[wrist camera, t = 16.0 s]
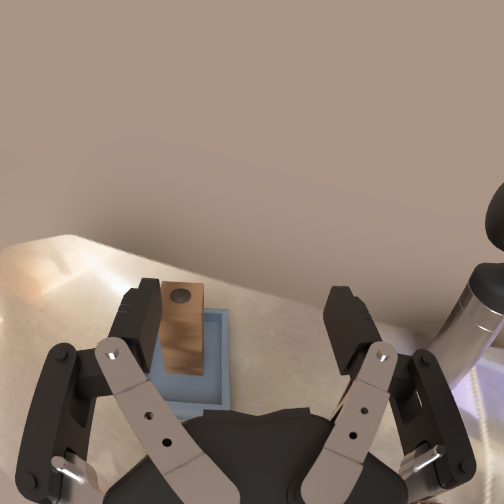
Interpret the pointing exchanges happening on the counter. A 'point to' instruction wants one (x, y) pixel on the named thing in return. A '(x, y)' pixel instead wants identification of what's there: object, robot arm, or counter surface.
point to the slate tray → (192, 386)
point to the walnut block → (182, 327)
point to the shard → (423, 503)
